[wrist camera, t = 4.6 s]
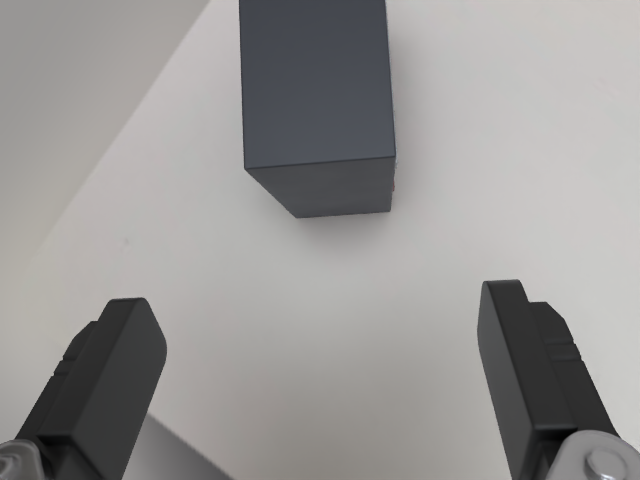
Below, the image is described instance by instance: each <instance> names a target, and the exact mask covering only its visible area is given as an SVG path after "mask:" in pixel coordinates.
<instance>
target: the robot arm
mask: <svg viewBox="0 0 640 480" xmlns="http://www.w3.org/2000/svg"><path fill="white" fill-rule="evenodd" d="M477 335H478V345H479V351H480V356H481V360H482V363H483V367H484V371H485V375H486V379H487V383H488V387H489V391H490V395H491V399H492V403H493V406H494V410H495V414H496V418H497V422H498V426H499V430H500V434H501V438H502V442H503V446H504V450H505V453H506V457H507V461H508V465H509V469H510V473H511V477H512V480H640V453H639V452H638V451H637V450H636V449H634V448H633V447H632V446H631V445H630V444H628V443H627V442H625V441H624V440H622V439H621V437H620V436H619V435H618V433H617V432H616V430H615V428H614V427H613V425H612V423H611V421H610V418H609V416H608V414H607V412H606V410H605V407H604V405H603V403H602V401H601V399H600V396H599V394H598V392H597V390H596V388H595V386H594V383H593V381H592V379H591V377H590V375H589V372H588V370H587V368H586V366H585V364H584V361H582V360H581V355H580V353H579V350H578V348H577V346H576V344H574V342H573V337H572V335H571V333H570V331H569V329H568V326H567V324H566V322H565V320H564V318H562V317H561V316H560V315H559V314H558V313H557V312H556V311H555V310H554V309H553V308H552V307H551V306H550V305H549V304H548V303H547V302H529V301H528V299H527V296H526V293H525V291H524V288H523V286H522V284H521V282H520V281H519V280H518V279H516V280H496V281H484V282H483V284H482V291H481V300H480V308H479V317H478V327H477ZM166 356H167V345H166V340H165V337H164V335H163V333H162V331H161V328H160V326H159V324H158V322H157V320H156V318H155V316H154V314H153V312H152V309H151V307H150V305H149V303H148V301H147V300H146V299H145V298H122V299H112V300H110V301H109V302H108V303H107V305H106V306H105V308H104V310H103V312H102V314H101V316H100V317H99V319H98V321H91V322H90V323H89V324H88V325H87V326H86V327H85V328H84V329H83V330H81V331H80V332H79V333H78V334H77V335H76V336H75V337H74V338H73V340H72V342H71V343H70V345H69V347H68V349H67V350H66V352H65V354H64V355H63V360H62V361H60V362H59V364H58V366H57V368H56V369H55V371H54V376H51V378H50V379H49V381H48V383H47V385H46V386H45V388H44V390H43V392H42V393H41V395H40V397H39V398H38V400H37V402H36V403H35V405H34V407H33V409H32V410H31V412H30V414H29V416H28V417H27V419H26V421H25V423H24V424H23V426H22V428H21V429H20V431H19V433H18V434H17V436H16V437H15V439H14V440H10V441H7V442H4V443H2V444H0V480H121V479H122V477H123V474H124V472H125V469H126V466H127V464H128V461H129V458H130V455H131V453H132V450H133V447H134V445H135V442H136V440H137V437H138V434H139V431H140V429H141V426H142V423H143V421H144V418H145V415H146V413H147V410H148V407H149V405H150V402H151V399H152V397H153V394H154V391H155V389H156V386H157V383H158V380H159V378H160V375H161V372H162V370H163V367H164V364H165V361H166Z"/></svg>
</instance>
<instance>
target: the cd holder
mask: <svg viewBox="0 0 640 480" xmlns="http://www.w3.org/2000/svg"><path fill="white" fill-rule="evenodd" d="M239 19H240V51H241V84H242V116H243V148H244V169H245V170H246V171H247V172H248V173H249V174H250V175H251V176H252V177H253V178H254V179H255V180H256V181H257V182H259V183H260V184H261V185H262V186H263V187H264V188H265V189H266V190H267V191H268V192H269V193H270V194H271V195H272V196H273V197H274V198H275V199H276V200H277V201H278V202H280V203H281V204H282V205H283V206H284V207H285V208H286V209H287V210H288V211H289V212H290V213H291V214H292V215H293V216H294V217H295V218H308V217H322V216H337V215H351V214H365V213H379V212H390V209H391V200H392V191H394V173H395V168H397V163H398V160H397V146H396V132H395V119H394V105H393V91H392V77H391V63H390V49H389V35H388V21H387V7H386V0H239Z"/></svg>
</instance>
